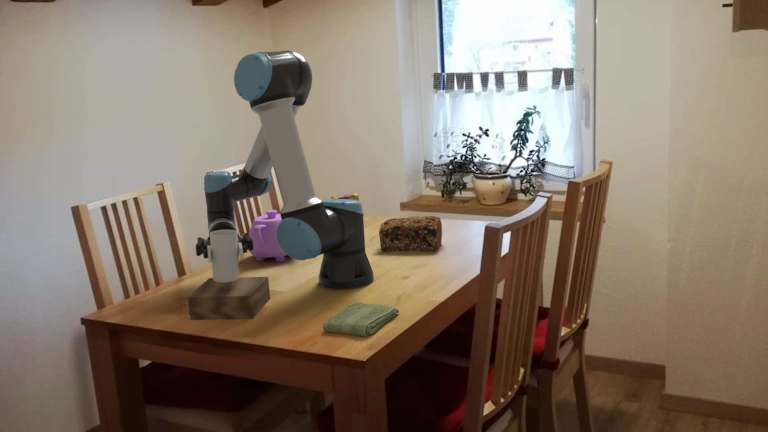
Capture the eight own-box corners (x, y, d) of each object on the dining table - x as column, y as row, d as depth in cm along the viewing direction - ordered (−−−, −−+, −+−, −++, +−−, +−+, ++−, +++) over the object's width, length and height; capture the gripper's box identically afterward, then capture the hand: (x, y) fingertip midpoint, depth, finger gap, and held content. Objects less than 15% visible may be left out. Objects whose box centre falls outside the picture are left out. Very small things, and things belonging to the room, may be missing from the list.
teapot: (294, 268, 239) (290, 219, 236) (235, 266, 246) (230, 218, 243) (320, 251, 257) (317, 205, 254) (264, 249, 264) (260, 205, 261)
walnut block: (270, 298, 212) (268, 276, 210) (252, 319, 196) (250, 295, 195) (211, 299, 214) (209, 277, 213) (190, 320, 198) (187, 297, 197)
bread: (443, 243, 258) (441, 213, 256) (437, 252, 248) (436, 221, 246) (386, 243, 262) (385, 214, 260) (379, 252, 252) (377, 221, 250)
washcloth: (401, 314, 194) (401, 302, 194) (369, 340, 179) (368, 326, 178) (354, 309, 200) (353, 297, 199) (318, 334, 184) (317, 321, 184)
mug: (229, 284, 197) (227, 236, 195) (206, 281, 200) (204, 234, 197) (251, 273, 207) (249, 228, 204) (229, 271, 209) (226, 226, 207)
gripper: (260, 244, 222) (267, 265, 200) (187, 251, 218) (185, 274, 196) (258, 217, 220) (265, 236, 198) (184, 224, 216) (182, 244, 194)
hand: (225, 255), depth 197 cm, fingers closed on mug, 7 cm apart
